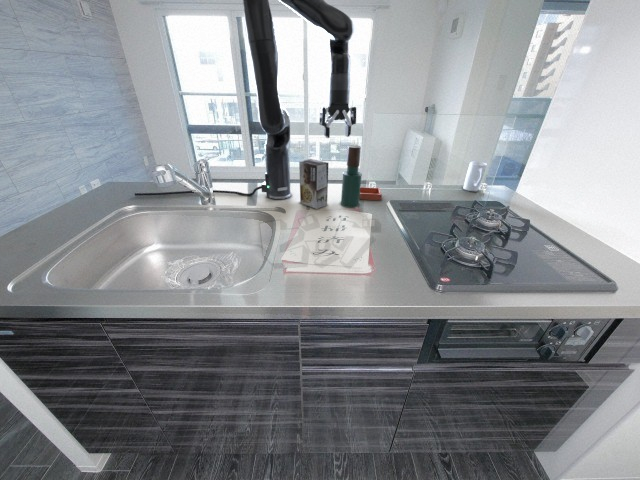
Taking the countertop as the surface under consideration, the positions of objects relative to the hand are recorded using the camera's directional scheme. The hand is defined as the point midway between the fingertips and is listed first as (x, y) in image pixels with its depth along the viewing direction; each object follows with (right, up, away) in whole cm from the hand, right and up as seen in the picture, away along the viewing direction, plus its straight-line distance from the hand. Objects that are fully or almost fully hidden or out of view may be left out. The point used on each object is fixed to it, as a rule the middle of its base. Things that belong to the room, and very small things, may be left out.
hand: (337, 137), depth 103 cm
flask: (+5, -26, +1) cm, 26 cm away
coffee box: (-9, -26, 0) cm, 28 cm away
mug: (+63, -17, +19) cm, 68 cm away
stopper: (+5, -15, -5) cm, 16 cm away
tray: (+14, -21, +9) cm, 27 cm away
